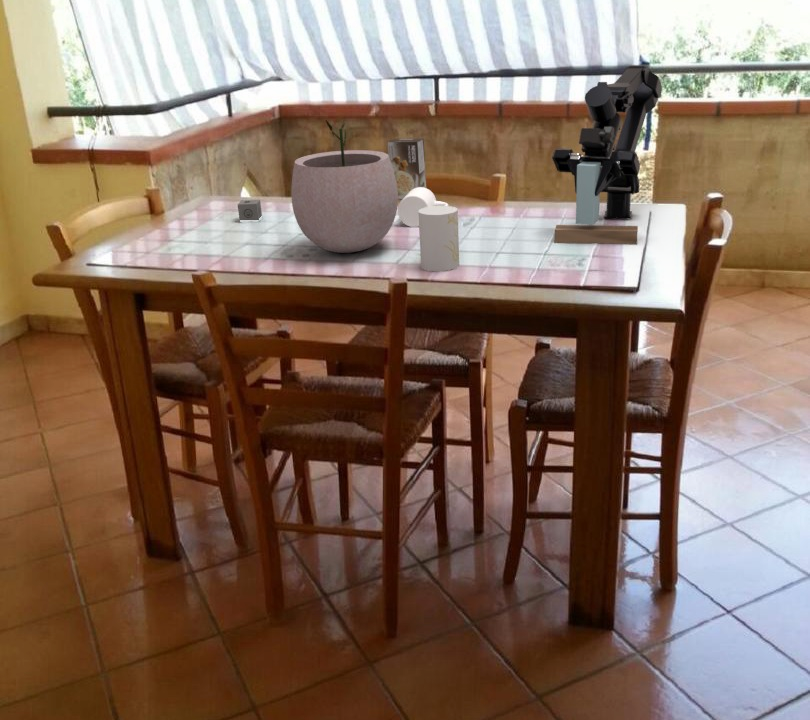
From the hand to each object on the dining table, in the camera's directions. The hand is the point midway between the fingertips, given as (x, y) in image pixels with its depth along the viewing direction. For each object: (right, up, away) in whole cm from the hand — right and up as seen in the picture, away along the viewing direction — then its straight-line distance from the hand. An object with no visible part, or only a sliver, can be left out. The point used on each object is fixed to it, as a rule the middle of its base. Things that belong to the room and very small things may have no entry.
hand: (586, 194), depth 193 cm
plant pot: (-53, -11, +9) cm, 55 cm away
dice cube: (-81, +1, +41) cm, 91 cm away
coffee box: (-39, +10, +57) cm, 70 cm away
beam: (+3, -10, +5) cm, 11 cm away
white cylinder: (-32, -17, -7) cm, 37 cm away
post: (+1, -5, +4) cm, 7 cm away
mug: (-35, -2, +29) cm, 45 cm away
